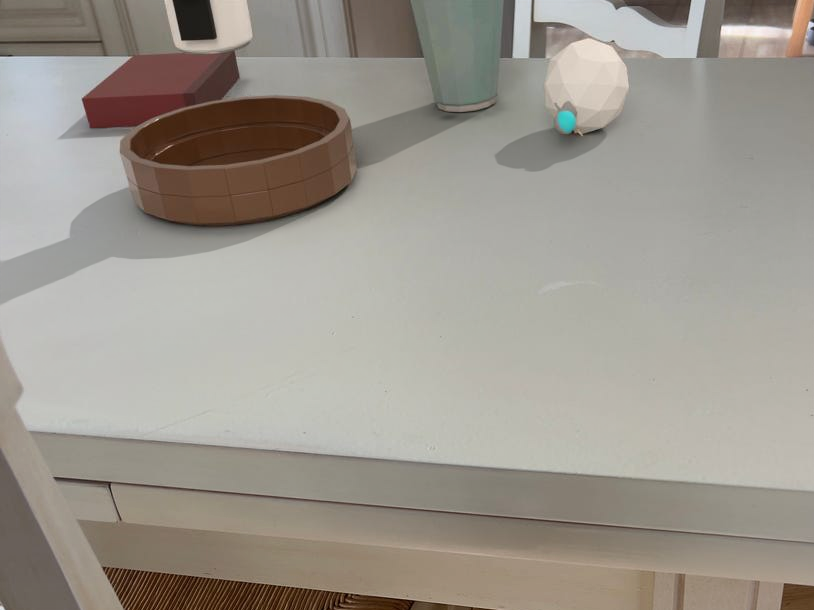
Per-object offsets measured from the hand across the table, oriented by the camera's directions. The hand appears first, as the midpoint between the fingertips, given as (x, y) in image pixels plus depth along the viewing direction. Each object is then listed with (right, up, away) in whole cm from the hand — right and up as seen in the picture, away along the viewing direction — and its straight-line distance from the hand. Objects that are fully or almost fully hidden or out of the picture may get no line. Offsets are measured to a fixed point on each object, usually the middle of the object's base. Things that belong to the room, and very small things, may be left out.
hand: (211, 27), depth 83 cm
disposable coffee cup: (+20, +4, +24) cm, 32 cm away
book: (-13, +8, +31) cm, 35 cm away
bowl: (+1, -10, +8) cm, 13 cm away
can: (0, -1, +1) cm, 2 cm away
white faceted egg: (+32, -4, +13) cm, 35 cm away
